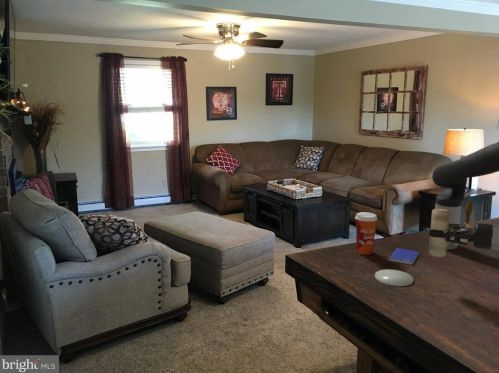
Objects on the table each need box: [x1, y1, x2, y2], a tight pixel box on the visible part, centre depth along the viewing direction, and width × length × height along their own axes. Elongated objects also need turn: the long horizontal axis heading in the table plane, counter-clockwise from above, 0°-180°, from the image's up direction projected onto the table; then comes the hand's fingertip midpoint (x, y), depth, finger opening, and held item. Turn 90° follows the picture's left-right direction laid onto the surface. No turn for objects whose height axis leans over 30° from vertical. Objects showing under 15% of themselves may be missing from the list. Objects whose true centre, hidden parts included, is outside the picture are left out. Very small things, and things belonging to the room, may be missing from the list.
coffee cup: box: [354, 211, 378, 256], centre depth 160 cm, size 8×8×15 cm
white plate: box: [374, 269, 414, 287], centre depth 138 cm, size 12×12×1 cm
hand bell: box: [463, 200, 473, 229], centre depth 177 cm, size 8×8×16 cm
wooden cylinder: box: [428, 208, 450, 258], centre depth 130 cm, size 5×5×14 cm
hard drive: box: [388, 247, 420, 265], centre depth 157 cm, size 2×8×12 cm
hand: (430, 230), depth 130 cm, fingers closed on wooden cylinder, 5 cm apart
